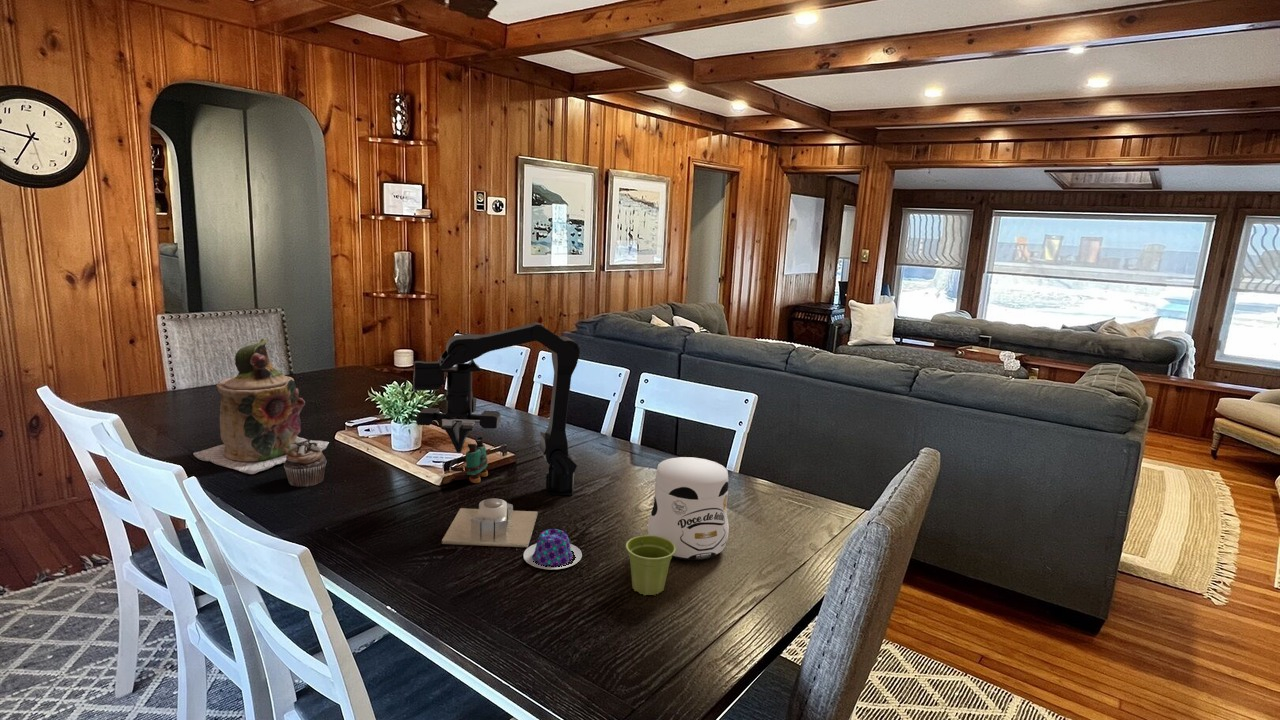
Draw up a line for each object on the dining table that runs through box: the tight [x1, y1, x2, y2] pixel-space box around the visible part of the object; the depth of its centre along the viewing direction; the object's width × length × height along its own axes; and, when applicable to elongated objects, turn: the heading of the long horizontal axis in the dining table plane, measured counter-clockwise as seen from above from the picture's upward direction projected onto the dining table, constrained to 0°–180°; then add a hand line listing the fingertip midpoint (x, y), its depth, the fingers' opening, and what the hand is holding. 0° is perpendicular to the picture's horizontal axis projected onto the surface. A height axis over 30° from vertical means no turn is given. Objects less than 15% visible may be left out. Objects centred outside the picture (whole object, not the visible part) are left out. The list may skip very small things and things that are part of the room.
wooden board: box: [441, 502, 539, 548], centre depth 148 cm, size 18×16×4 cm
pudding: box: [523, 528, 583, 570], centre depth 137 cm, size 12×12×5 cm
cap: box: [478, 497, 508, 520], centre depth 148 cm, size 6×6×6 cm
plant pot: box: [625, 534, 676, 596], centre depth 127 cm, size 9×9×9 cm
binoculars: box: [449, 436, 489, 484], centre depth 175 cm, size 9×11×10 cm
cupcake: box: [283, 439, 328, 488], centre depth 167 cm, size 10×10×10 cm
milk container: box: [647, 456, 730, 561], centre depth 143 cm, size 17×17×18 cm
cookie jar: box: [193, 337, 330, 475], centre depth 181 cm, size 25×25×32 cm
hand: (459, 452), depth 160 cm, fingers closed
